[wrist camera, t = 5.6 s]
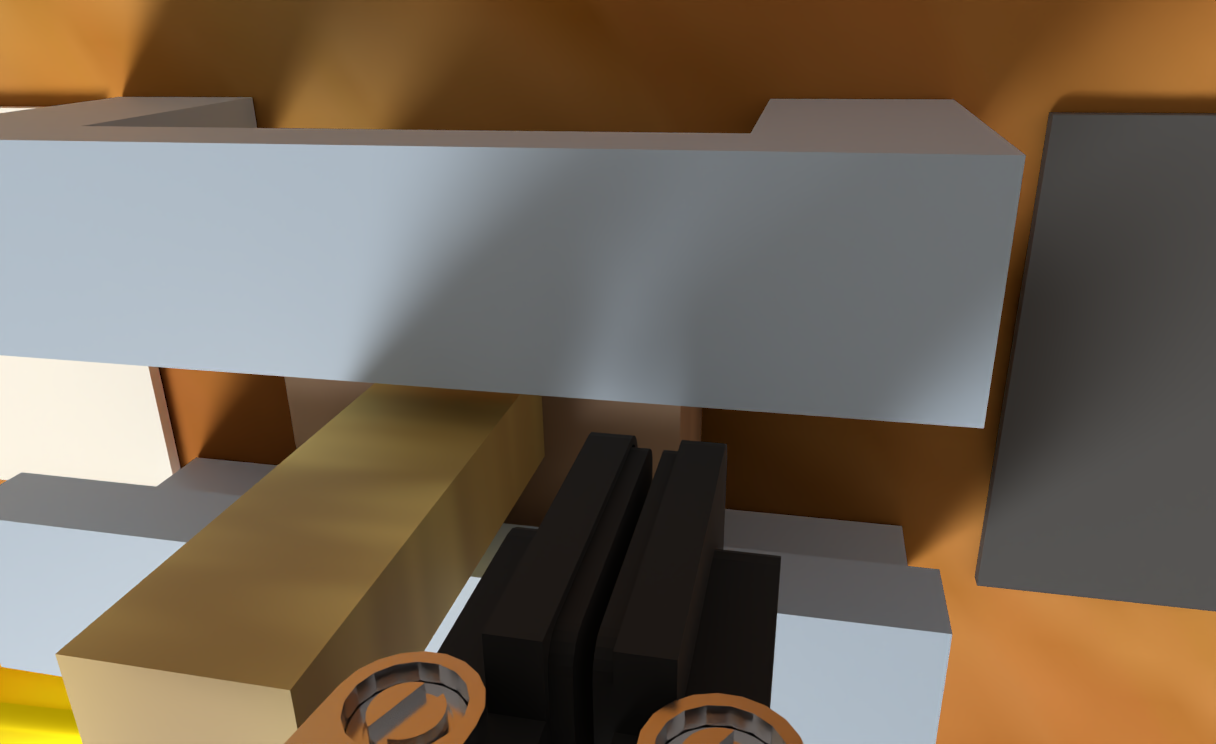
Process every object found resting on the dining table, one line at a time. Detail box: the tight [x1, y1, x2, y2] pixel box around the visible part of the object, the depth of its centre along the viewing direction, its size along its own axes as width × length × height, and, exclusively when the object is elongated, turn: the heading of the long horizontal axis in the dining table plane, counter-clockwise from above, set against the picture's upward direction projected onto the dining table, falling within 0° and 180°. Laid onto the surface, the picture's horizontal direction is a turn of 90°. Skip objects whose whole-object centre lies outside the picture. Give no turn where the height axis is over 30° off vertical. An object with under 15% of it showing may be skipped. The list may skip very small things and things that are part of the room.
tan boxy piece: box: [55, 376, 702, 744], centre depth 13 cm, size 7×6×11 cm
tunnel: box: [0, 97, 1026, 744], centre depth 16 cm, size 16×9×6 cm, turn 91°
